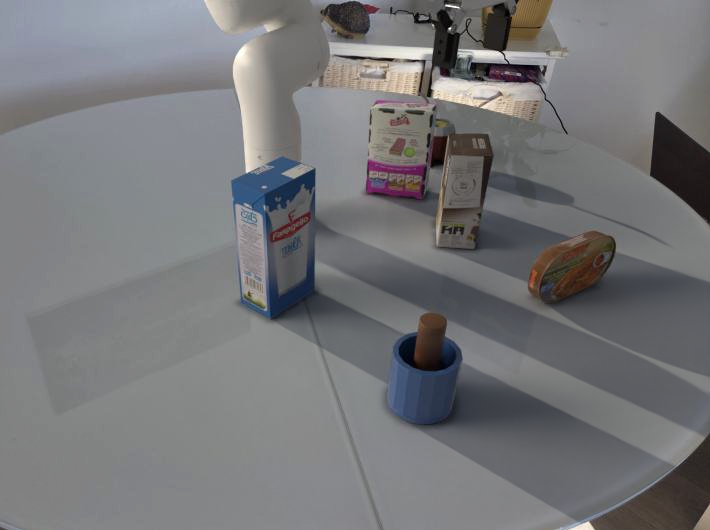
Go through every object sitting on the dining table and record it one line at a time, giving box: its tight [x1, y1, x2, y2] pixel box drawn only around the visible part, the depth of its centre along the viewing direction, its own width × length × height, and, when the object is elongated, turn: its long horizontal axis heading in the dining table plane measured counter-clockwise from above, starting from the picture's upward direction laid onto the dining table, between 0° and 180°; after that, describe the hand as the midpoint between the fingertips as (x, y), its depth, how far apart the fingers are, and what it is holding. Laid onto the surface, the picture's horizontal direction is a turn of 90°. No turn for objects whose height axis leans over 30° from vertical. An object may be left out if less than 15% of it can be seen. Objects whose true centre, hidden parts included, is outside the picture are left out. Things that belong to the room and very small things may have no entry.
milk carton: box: [230, 157, 317, 320], centre depth 91 cm, size 10×6×20 cm, turn 134°
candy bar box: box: [365, 99, 438, 200], centre depth 117 cm, size 11×5×16 cm, turn 68°
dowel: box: [413, 311, 448, 372], centre depth 74 cm, size 3×3×12 cm
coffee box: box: [435, 132, 495, 250], centre depth 104 cm, size 9×6×16 cm
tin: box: [527, 230, 617, 304], centre depth 92 cm, size 15×3×8 cm, turn 117°
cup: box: [386, 331, 464, 425], centre depth 76 cm, size 8×8×8 cm
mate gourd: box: [416, 90, 457, 168], centre depth 127 cm, size 8×8×15 cm
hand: (469, 57), depth 79 cm, fingers open, 9 cm apart
